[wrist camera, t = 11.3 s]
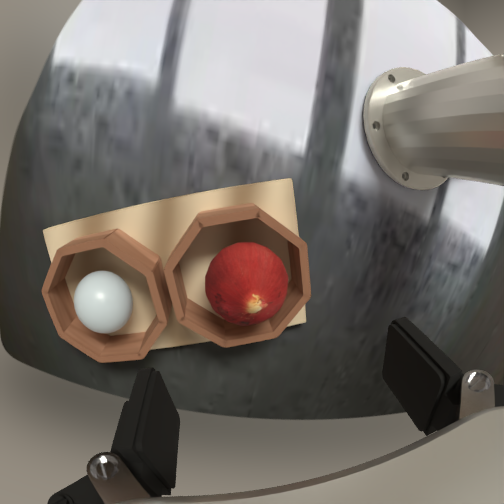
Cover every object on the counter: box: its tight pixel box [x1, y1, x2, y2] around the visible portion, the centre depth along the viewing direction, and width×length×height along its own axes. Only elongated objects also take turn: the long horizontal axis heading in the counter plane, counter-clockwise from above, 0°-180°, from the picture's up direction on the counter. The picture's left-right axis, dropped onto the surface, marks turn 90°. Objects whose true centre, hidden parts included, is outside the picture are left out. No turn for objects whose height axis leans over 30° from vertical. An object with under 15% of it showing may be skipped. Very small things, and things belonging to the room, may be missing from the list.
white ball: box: [74, 271, 133, 334], centre depth 21 cm, size 5×5×5 cm
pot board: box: [42, 179, 311, 363], centre depth 23 cm, size 22×13×5 cm, turn 99°
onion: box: [205, 242, 288, 326], centre depth 20 cm, size 6×6×8 cm
